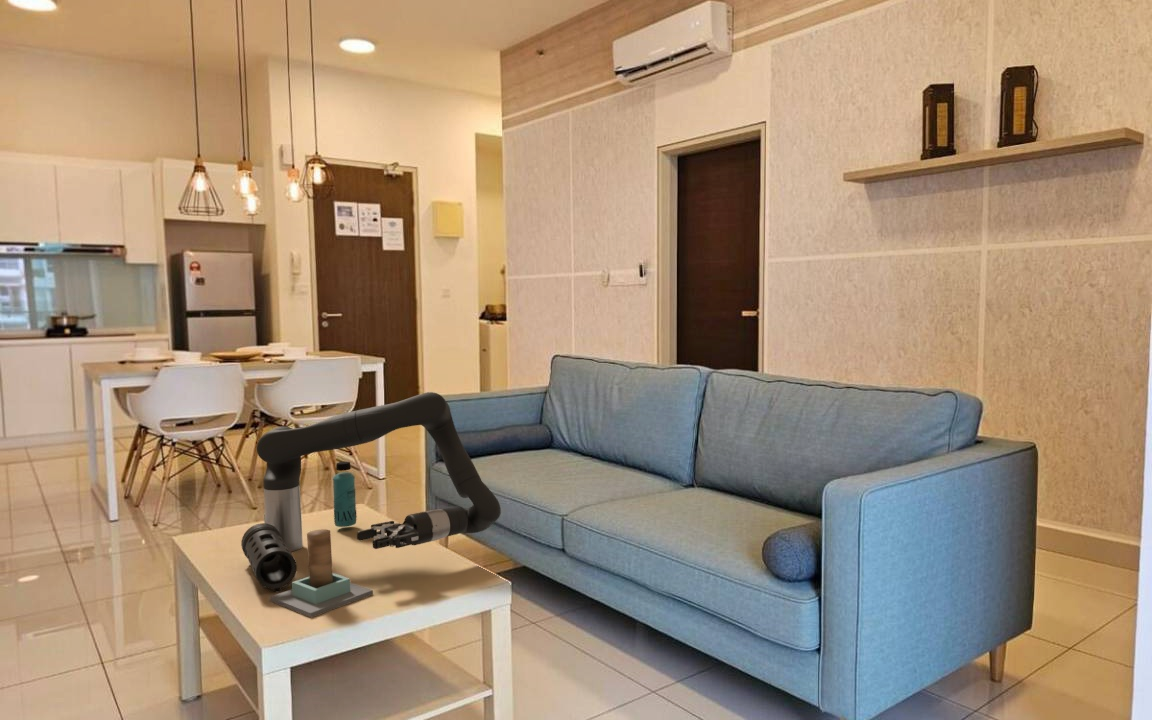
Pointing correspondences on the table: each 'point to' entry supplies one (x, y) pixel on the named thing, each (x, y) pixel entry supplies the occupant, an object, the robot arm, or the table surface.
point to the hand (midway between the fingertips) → (365, 540)
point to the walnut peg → (319, 558)
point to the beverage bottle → (344, 496)
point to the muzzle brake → (268, 556)
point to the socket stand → (320, 596)
